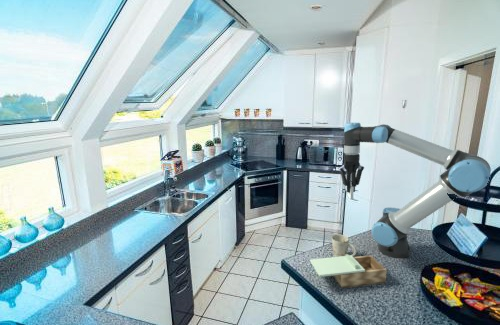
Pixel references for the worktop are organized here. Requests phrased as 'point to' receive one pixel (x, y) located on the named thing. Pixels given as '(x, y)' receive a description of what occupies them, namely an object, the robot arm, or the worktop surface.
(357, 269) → the lid
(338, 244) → the mug
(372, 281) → the lid box
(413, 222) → the robot arm
